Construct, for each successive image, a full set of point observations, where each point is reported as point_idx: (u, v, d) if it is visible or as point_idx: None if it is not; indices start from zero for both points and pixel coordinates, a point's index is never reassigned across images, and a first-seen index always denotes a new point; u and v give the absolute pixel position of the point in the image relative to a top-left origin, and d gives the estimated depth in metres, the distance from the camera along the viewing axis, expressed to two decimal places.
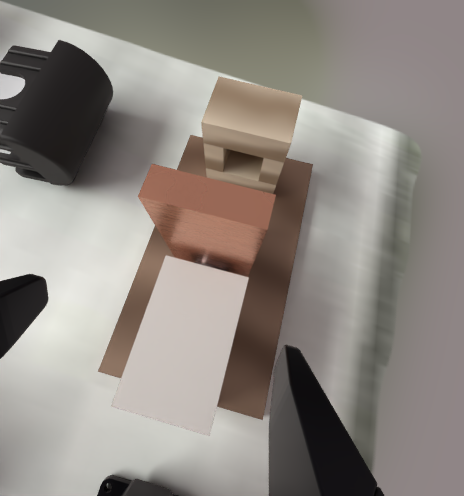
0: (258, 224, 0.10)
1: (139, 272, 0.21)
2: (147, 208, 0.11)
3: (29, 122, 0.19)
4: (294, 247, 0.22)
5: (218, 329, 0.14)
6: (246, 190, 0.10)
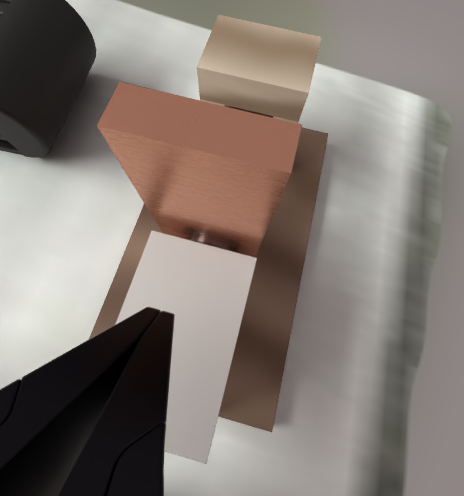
0: (277, 165, 0.06)
1: (125, 257, 0.18)
2: (115, 150, 0.08)
3: None
4: (307, 228, 0.19)
5: (218, 323, 0.11)
6: (258, 117, 0.07)
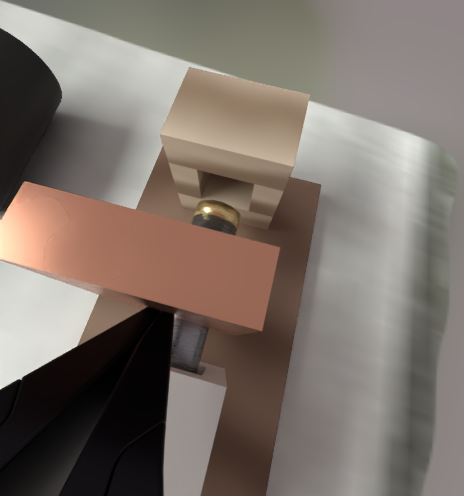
0: (242, 318, 0.04)
1: (84, 338, 0.15)
2: (24, 268, 0.05)
3: None
4: (297, 300, 0.17)
5: (172, 487, 0.08)
6: (218, 237, 0.05)
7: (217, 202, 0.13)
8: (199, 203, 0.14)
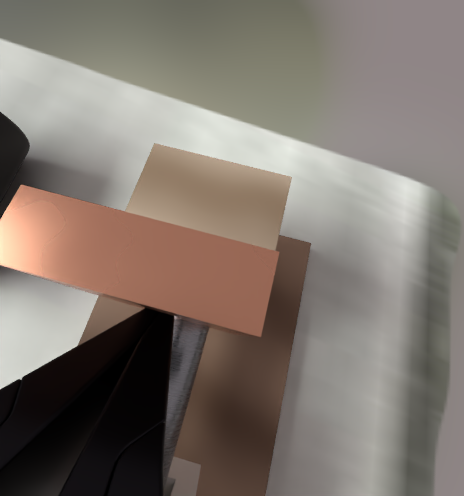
0: (241, 323, 0.04)
1: None
2: None
3: None
4: (282, 381, 0.15)
5: None
6: (216, 241, 0.05)
7: None
8: None
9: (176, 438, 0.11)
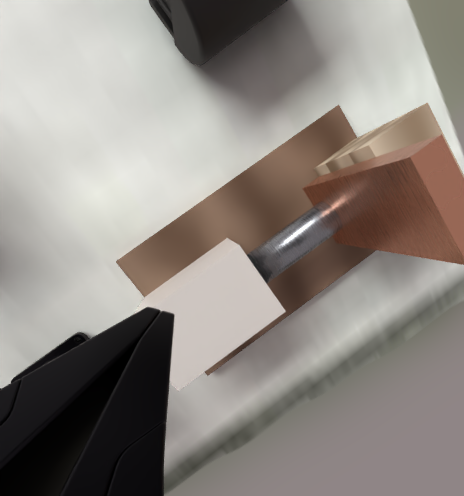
0: None
1: (197, 207, 0.21)
2: (393, 165, 0.11)
3: None
4: (328, 283, 0.23)
5: (234, 331, 0.16)
6: None
7: None
8: None
9: (288, 267, 0.18)
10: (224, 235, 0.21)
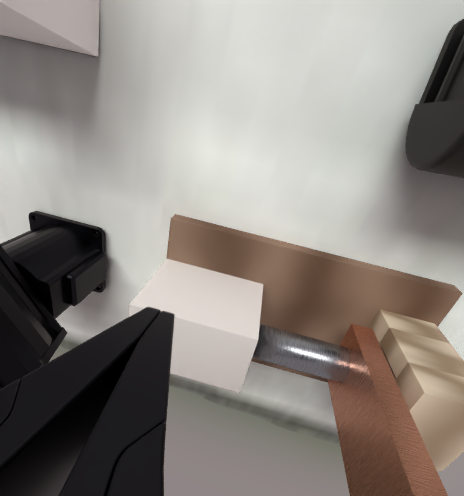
0: None
1: (268, 246, 0.20)
2: (404, 476, 0.11)
3: None
4: (291, 371, 0.24)
5: (196, 371, 0.18)
6: None
7: None
8: None
9: None
10: (263, 281, 0.21)
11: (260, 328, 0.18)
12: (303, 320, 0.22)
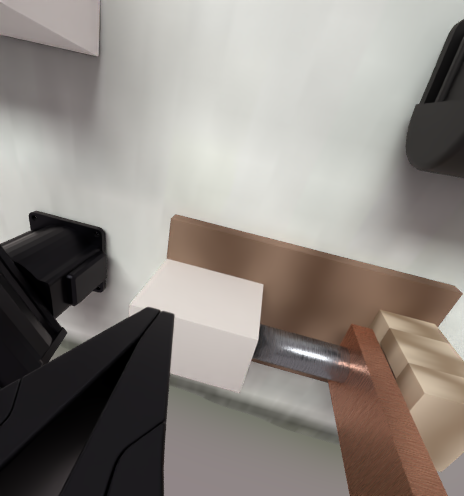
0: None
1: (268, 246, 0.20)
2: (404, 477, 0.11)
3: None
4: (292, 371, 0.24)
5: (196, 371, 0.18)
6: None
7: None
8: None
9: None
10: (263, 281, 0.21)
11: (260, 328, 0.18)
12: (303, 320, 0.22)
